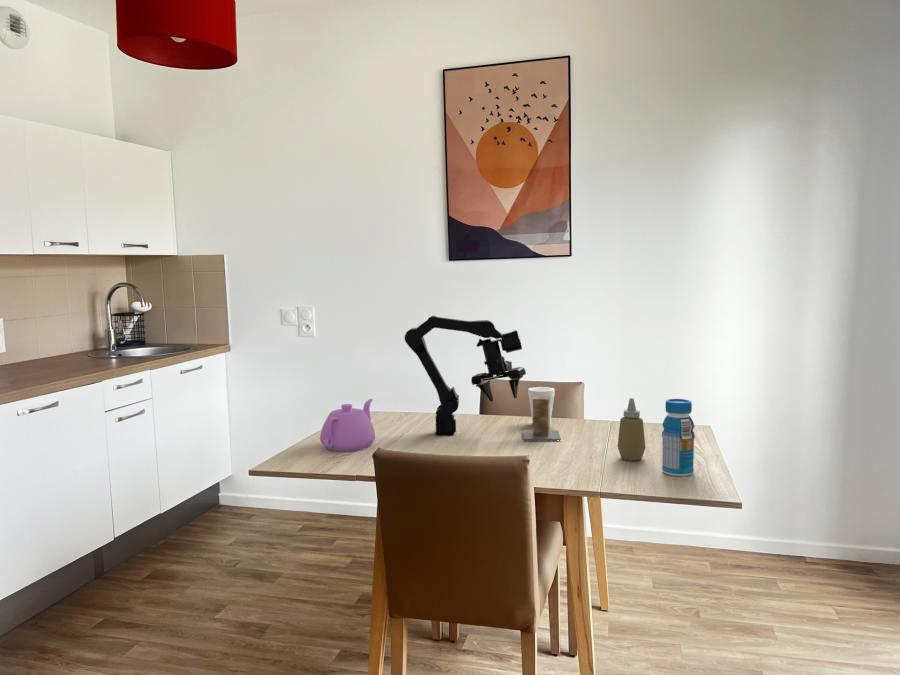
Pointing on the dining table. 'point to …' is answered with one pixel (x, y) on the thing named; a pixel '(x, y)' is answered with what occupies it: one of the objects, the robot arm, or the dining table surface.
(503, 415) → the dining table surface
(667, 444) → the beverage bottle
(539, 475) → the dining table surface
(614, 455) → the dining table surface
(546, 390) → the foam cup
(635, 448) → the squeeze bottle
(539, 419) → the walnut block
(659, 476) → the dining table surface
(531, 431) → the slate coaster
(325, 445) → the teapot
